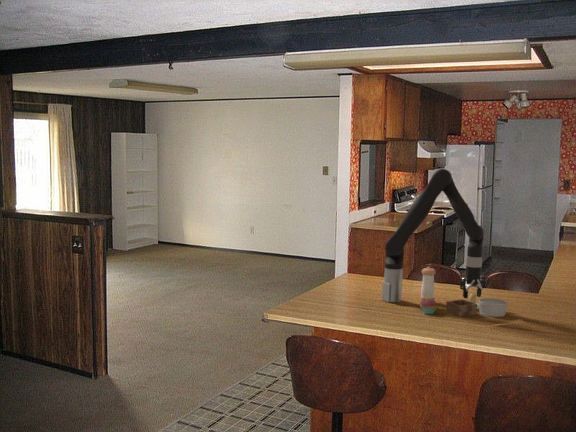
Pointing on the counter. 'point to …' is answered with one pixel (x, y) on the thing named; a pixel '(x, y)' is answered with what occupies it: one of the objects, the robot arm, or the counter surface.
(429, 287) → the pepper shaker
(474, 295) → the lid
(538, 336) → the counter surface
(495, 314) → the ramekin
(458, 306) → the walnut box
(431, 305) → the cupcake
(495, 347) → the counter surface
